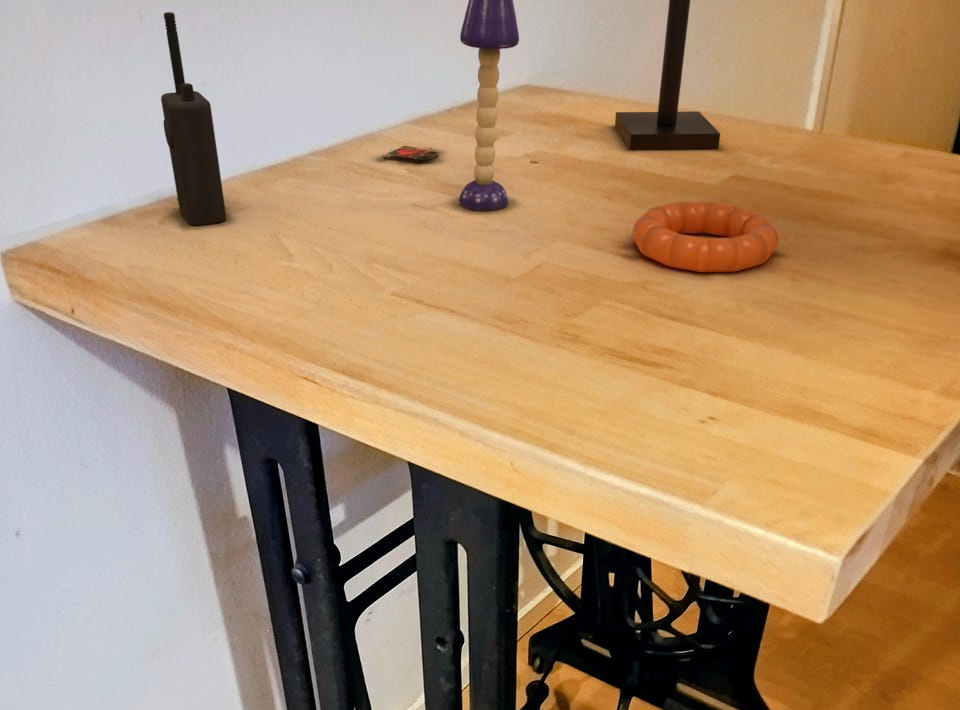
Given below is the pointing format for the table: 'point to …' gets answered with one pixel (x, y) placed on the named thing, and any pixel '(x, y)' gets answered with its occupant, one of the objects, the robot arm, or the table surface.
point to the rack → (669, 101)
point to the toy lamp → (487, 94)
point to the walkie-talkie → (191, 143)
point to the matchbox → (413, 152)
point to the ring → (740, 251)
